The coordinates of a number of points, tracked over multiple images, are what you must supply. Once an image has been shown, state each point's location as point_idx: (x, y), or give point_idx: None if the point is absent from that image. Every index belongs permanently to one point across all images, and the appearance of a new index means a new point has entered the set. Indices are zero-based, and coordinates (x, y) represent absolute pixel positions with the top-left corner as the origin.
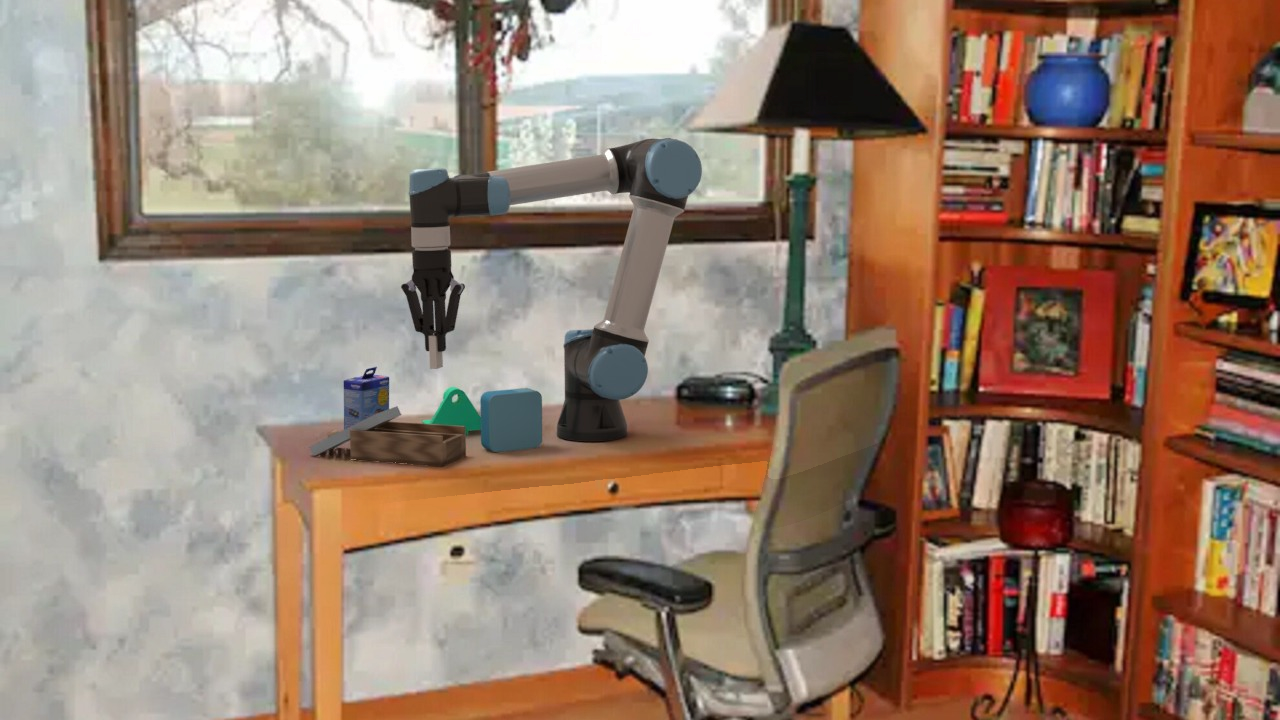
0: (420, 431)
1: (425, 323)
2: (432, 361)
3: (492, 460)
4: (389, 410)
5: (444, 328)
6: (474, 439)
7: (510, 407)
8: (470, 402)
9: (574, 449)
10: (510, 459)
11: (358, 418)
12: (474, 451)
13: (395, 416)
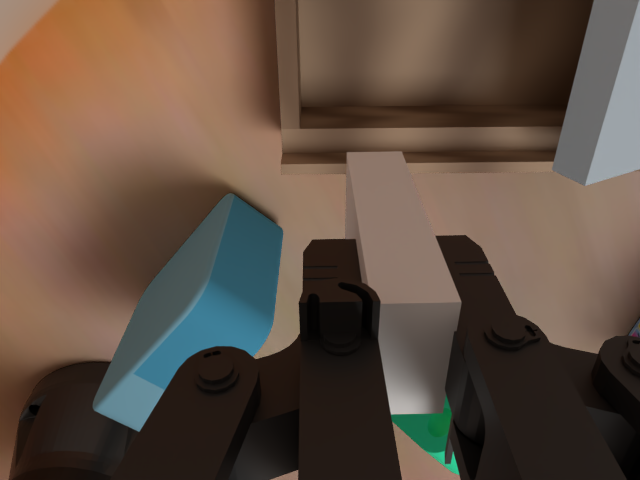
0: (455, 147)
1: (559, 433)
2: (386, 173)
3: (172, 96)
4: (601, 107)
5: (245, 386)
6: None
7: (162, 312)
8: (404, 429)
9: (52, 291)
10: (130, 128)
11: None
12: (291, 194)
13: (566, 122)
